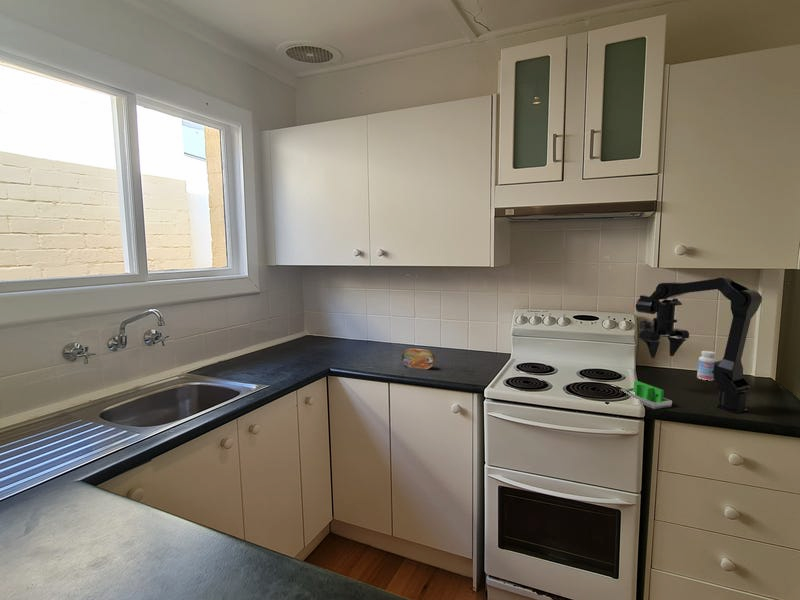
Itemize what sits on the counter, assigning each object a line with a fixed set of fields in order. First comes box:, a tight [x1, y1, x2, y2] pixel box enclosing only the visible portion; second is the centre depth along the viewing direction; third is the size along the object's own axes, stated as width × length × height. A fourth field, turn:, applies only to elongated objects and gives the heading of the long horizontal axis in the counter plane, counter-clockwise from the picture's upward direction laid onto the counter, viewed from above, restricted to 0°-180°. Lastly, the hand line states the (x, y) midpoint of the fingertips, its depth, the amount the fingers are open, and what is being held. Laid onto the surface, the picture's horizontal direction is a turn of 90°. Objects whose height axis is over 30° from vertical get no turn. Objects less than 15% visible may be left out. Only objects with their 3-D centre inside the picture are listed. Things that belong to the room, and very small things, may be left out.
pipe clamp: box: [633, 380, 665, 402], centre depth 153 cm, size 11×4×5 cm, turn 18°
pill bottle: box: [696, 350, 718, 382], centre depth 178 cm, size 6×6×11 cm
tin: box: [401, 347, 436, 370], centre depth 192 cm, size 15×3×8 cm, turn 65°
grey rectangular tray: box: [619, 387, 673, 410], centre depth 153 cm, size 15×8×2 cm, turn 18°
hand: (662, 357), depth 166 cm, fingers open, 9 cm apart
